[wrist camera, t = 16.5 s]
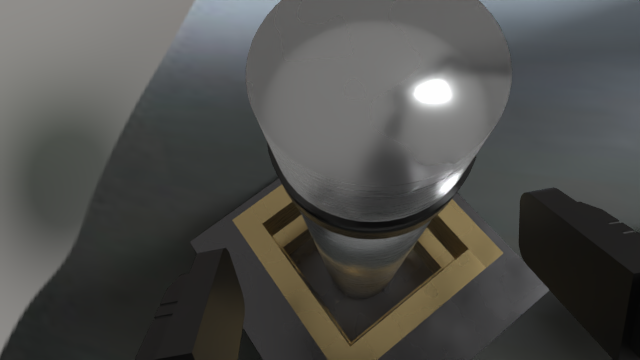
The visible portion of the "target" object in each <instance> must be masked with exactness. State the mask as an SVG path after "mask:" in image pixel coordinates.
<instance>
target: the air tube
mask: <svg viewBox="0 0 640 360" xmlns="http://www.w3.org/2000/svg"><path fill="white" fill-rule="evenodd" d="M511 82H512V64H511V55H510V52H509V48H508V44H507V41H506V39H505V36H504V34H503V32H502V30H501V28H500V26H499V25H498V23H497V22H496V20H495V18H494V17H493V15H492V14H491V13H490V12H489V11H488V10H487V8H486V7H485V6H484V5H483V4H482V3H481V2H480V1H479V0H281V1H280V2H279V3H278V4H277V5H276V6H275V7H274V8H273V9H272V11H271V12H270V13H269V14H268V15H267V16H266V18H265V19H264V21H263V22H262V24H261V25H260V27H259V28H258V30H257V32H256V34H255V36H254V38H253V41H252V44H251V47H250V50H249V53H248V58H247V64H246V86H247V93H248V97H249V101H250V104H251V107H252V110H253V112H254V114H255V116H256V119H257V121H258V123H259V125H260V127H261V129H262V131H263V133H264V136H265V138H266V140H267V144H268V151H269V155H270V158H271V161H272V165H273V167H274V169H275V171H276V173H277V175H278V177H279V179H280V181H281V183H282V185H283V187H284V189H285V191H286V193H287V194H288V196H289V197H290V199H291V200H292V202H293V203H294V204H295V205H296V207H297V208H298V209H299V210H300V212H301V214H302V217H303V219H304V221H305V223H306V225H307V227H308V229H309V231H310V234H311V236H312V238H313V240H314V242H315V244H316V246H317V249H318V251H319V253H320V255H321V257H322V259H323V261H324V263H325V266H326V268H327V270H328V272H329V274H330V276H331V278H332V280H333V282H334V284H335V285H336V287H337V288H338V289H339V290H340V291H341V292H343V293H344V294H346V295H348V296H351V297H354V298H361V299H363V298H370V297H373V296H375V295H377V294H379V293H380V292H382V291H383V290H384V289H385V287H386V286H387V285H388V283H389V282H390V281H391V279H392V278H393V276H394V275H395V273H396V272H397V270H398V269H399V267H400V266H401V264H402V263H403V261H404V260H405V258H406V257H407V255H408V254H409V253H410V251H411V250H412V248H413V247H414V245H415V244H416V242H417V241H418V239H419V238H420V236H421V235H422V233H423V232H424V230H425V229H426V227H427V226H428V225H429V223H430V222H431V220H432V219H434V218H435V217H436V216H437V215H438V214H439V213H440V212H441V211H442V210H443V209H444V208H445V207H446V206H447V205H448V203H449V202H450V201H451V200H452V198H453V197H454V195H455V194H456V193H457V191H458V190H459V189H460V187H461V186H462V184H463V183H464V181H465V180H466V178H467V176H468V175H469V173H470V171H471V169H472V166H473V164H474V161H475V158H476V154H477V152H478V151H479V149H480V148H481V146H482V145H483V144H484V142H485V141H486V139H487V138H488V136H489V135H490V133H491V132H492V130H493V129H494V127H495V125H496V124H497V122H498V120H499V119H500V117H501V115H502V114H503V111H504V109H505V106H506V104H507V101H508V98H509V93H510V89H511Z"/></svg>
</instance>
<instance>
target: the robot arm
mask: <svg viewBox="0 0 640 360" xmlns="http://www.w3.org/2000/svg"><path fill="white" fill-rule="evenodd" d="M519 248H520V252H521V255H522V258H523V260H524V261H525V263H526V264H527V266H528V267H529V268H530V269H531V270H532V271H533V272H534V273H535V275H536V276H537V277H538V278H539V279H540V280H541V281H542V282H543V283H544V284H545V285H546V286H547V288H548V289H549V290H550V291H551V292H552V293H553V294H554V295H555V296H556V297H557V298H558V300H559V301H560V302H561V303H562V304H563V305H564V306H565V307H566V308H567V309H568V310H569V312H570V313H571V314H572V315H573V316H574V317H575V318H576V319H577V320H578V321H579V322H580V324H581V325H582V326H583V327H584V328H585V329H586V330H587V331H588V332H589V333H590V334H591V336H592V337H593V338H594V339H595V340H596V341H597V342H598V343H599V344H600V345H601V346H602V348H603V349H604V350H605V351H606V352H607V353H608V354H609V355H610V356H611V357H612V358H613V360H640V234H639V233H638V232H634V231H633V229H632V228H630V227H629V226H627V225H625V224H624V223H620V222H619V220H618V219H616V218H615V217H613V216H611V215H610V214H608V213H607V212H605V211H604V210H602V209H599V208H596V207H594V206H591V205H588V204H585V203H582V202H576V201H575V200H573V199H572V198H570V197H569V196H567V195H566V194H564V193H563V192H561V191H560V190H559V189H557V188H548V189H542V190H537V191H532V192H526V193H524V194H523V195H522V196H521V199H520V219H519ZM244 316H245V305H244V298H243V293H242V290H241V287H240V284H239V281H238V278H237V275H236V271H235V268H234V265H233V262H232V259H231V256H230V253H229V251H228V250H227V249H226V248H222V249H217V250H211V251H206V252H200V253H198V254H197V255H196V257H195V260H194V262H193V265H192V267H191V270H190V272H189V273H188V274H183V275H180V276H179V277H178V278H177V279H176V280H175V281H174V282H173V283H172V285H171V286H170V287H169V288H168V289H167V290H166V293H165V295H164V297H163V299H162V301H161V304H160V307H159V308H158V310H157V312H156V314H155V320H153V321H152V323H151V325H150V328H149V330H148V332H147V334H146V336H145V339H144V341H143V343H142V345H141V347H140V349H139V352H138V354H137V356H136V358H135V360H238V354H239V347H240V341H241V335H242V329H243V323H244Z"/></svg>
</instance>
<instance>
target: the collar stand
mask: <svg viewBox="0 0 640 360" xmlns="http://www.w3.org/2000/svg"><path fill="white" fill-rule="evenodd" d="M190 243H191V245H192V246H193V248H194V250H195V251H196V253H197V254H198V253H200V252H206V251H211V250H217V249H222V248H226V249H227V250H228V251H229V253H230V256H231V259H232V262H233V265H234V268H235V271H236V275H237V278H238V281H239V284H240V287H241V290H242V293H243V298H244V305H245V316H244V323H243V328H244V330H245V331H246V333H247V335H248V336H249V338H250V339H251V341H252V343H253V344H254V346H255V347H256V349H257V351H258V352H259V354H260V356H261V357H262V359H263V360H471V359H472V358H473V357H475V356H476V355H477V354H478V353H479V352H480V351H481V350H482V349H484V348H485V347H486V346H487V345H488V344H489V343H490V342H491V341H493V340H494V339H495V338H496V337H497V336H498V335H499V334H500V333H502V332H503V331H504V330H505V329H506V328H507V327H508V326H510V325H511V324H512V323H513V322H514V321H515V320H516V319H517V318H519V317H520V316H521V315H522V314H523V313H524V312H525V311H526V310H528V309H529V308H530V307H531V306H532V305H533V304H534V303H536V302H537V301H538V300H539V299H540V298H541V297H542V296H543V295H545V294H546V293H547V292H548V291H549V289H548V288H547V286H546V285H545V284H544V283H543V282H542V281H541V280H540V279H539V278H538V277H537V276H536V275H535V273H534V272H533V271H532V270H531V269H530V268H529V267H528V266H527V264H526V263H525V262H524V261H523V260H522V259H521V258H520V257H519V256H518V255H517V254H516V253H515V252H514V251H513V250H512V249H511V248H510V246H509V245H508V244H507V243H506V242H505V241H504V240H503V239H502V238H501V237H500V236H499V235H498V234H497V233H496V232H495V231H494V230H493V229H492V228H491V227H490V226H489V225H488V224H487V223H486V222H485V221H484V220H483V218H482V217H481V216H480V215H479V214H478V213H477V212H476V211H475V210H474V209H473V208H472V207H471V206H470V205H469V204H468V203H467V202H466V201H465V200H464V199H463V198H462V197H461V196H460V195H459V194H458V193H456V194H455V195H454V197H453V198H452V200H451V201H450V202H449V203H448V205H447V206H446V207H445V208H444V209H443V210H442V211H441V212H440V213H439V214H438V215H437V216H436V217H435V218H434V219H432V220H431V222H430V223H429V225H428V226H427V227H426V229H425V230H424V232H423V233H422V235H421V236H420V238H419V239H418V241H417V242H416V244H415V245H414V247H413V248H412V250H411V251H410V253H409V254H408V255H407V257H406V258H405V260H404V261H403V263H402V264H401V266H400V267H399V269H398V270H397V272H396V273H395V275H394V276H393V278H392V279H391V281H390V282H389V283H388V285H387V286H386V287H385V289H384V290H383V291H382V292H380V293H379V294H377V295H375V296H373V297H370V298H363V299H361V298H354V297H351V296H348V295H346V294H344V293H343V292H341V291H340V290H339V289H338V288H337V287H336V285H335V284H334V282H333V280H332V278H331V276H330V274H329V272H328V270H327V268H326V266H325V263H324V261H323V259H322V257H321V255H320V253H319V251H318V249H317V246H316V244H315V242H314V240H313V238H312V236H311V234H310V231H309V229H308V227H307V225H306V223H305V221H304V219H303V217H302V214H301V212H300V210H299V209H298V208H297V207H296V205H295V204H294V203H293V202H292V200H291V199H290V197H289V196H288V194H287V193H286V191H285V189H284V187H283V185H282V183H281V181H280V179H279V178H278V179H277V180H276V181H274V182H273V183H271V184H270V185H269V186H267V187H266V188H264V189H263V190H262V191H260V192H259V193H257V194H256V195H255V196H253V197H252V198H250V199H249V200H248V201H246V202H245V203H243V204H242V205H241V206H239V207H238V208H236V209H235V210H234V211H232V212H231V213H229V214H228V215H227V216H225V217H224V218H222V219H221V220H220V221H218V222H217V223H215V224H214V225H213V226H211V227H210V228H209V229H207V230H206V231H204V232H203V233H202V234H200V235H199V236H197V237H196V238H195V239H193V240H192V241H190Z"/></svg>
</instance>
